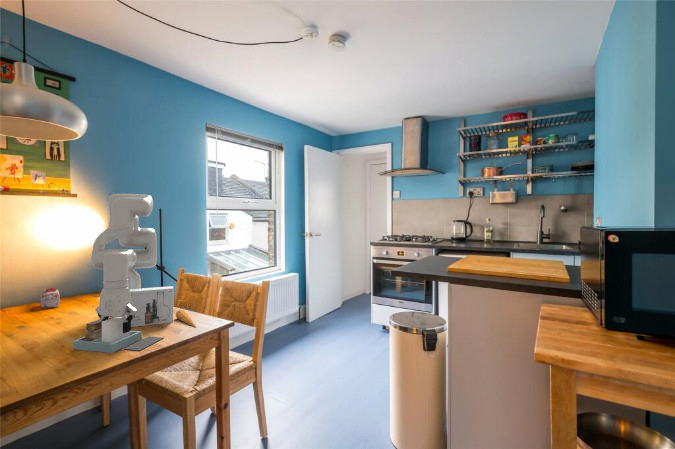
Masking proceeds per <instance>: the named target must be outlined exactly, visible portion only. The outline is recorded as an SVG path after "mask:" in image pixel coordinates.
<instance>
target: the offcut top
mask: <svg viewBox="0 0 675 449" xmlns="http://www.w3.org/2000/svg"><path fill="white" fill-rule="evenodd" d="M85 324H86V325H85V331H96V330H99V329H101V321H100V318H99V319H95V320H93V321H91V322H87V323H85Z"/></svg>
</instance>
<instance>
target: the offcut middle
mask: <svg viewBox="0 0 675 449" xmlns="http://www.w3.org/2000/svg"><path fill="white" fill-rule="evenodd" d="M84 337H85V340H95V339H98V338H100V337H102V331H101V329H99V330H96V331H87V330H85V335H84Z"/></svg>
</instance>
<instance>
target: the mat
mask: <svg viewBox="0 0 675 449" xmlns="http://www.w3.org/2000/svg"><path fill="white" fill-rule="evenodd" d="M161 340H164V337H162V336H147V337H145V338H143V339H141V340H139V341H137V342H135V343H132V344H130V345H128V346H126V347H124V348H123V350H126V351H133V352H134V351H137V352H141V351H143V350H145V349H147V348H149V347H151V346H153V345H154V344H156V343H158V342H161Z"/></svg>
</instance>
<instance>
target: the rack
mask: <svg viewBox="0 0 675 449" xmlns="http://www.w3.org/2000/svg"><path fill="white" fill-rule="evenodd" d="M142 332H143V331H142V330H140V331H139V330H131V331H130V336H128V337H125V338H123V339H121V340H119V341H116V342H114V343H106V342H102V337H100V338H98V339H95V340H93V341H84V340H85V336H83V337H80V338H78V339H75V340H72V349H73V350H74V351H75V350H77V351H86V352H87V351H88V352H98V353H100V352H101V353H109V354H113V353H114V354H115V352H118V351H120V350H122V349H124V348H126V347H128V346H130V345H132V344H135V343H137V342H139V341H141V340H143V339H142V338H143V333H142Z"/></svg>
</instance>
